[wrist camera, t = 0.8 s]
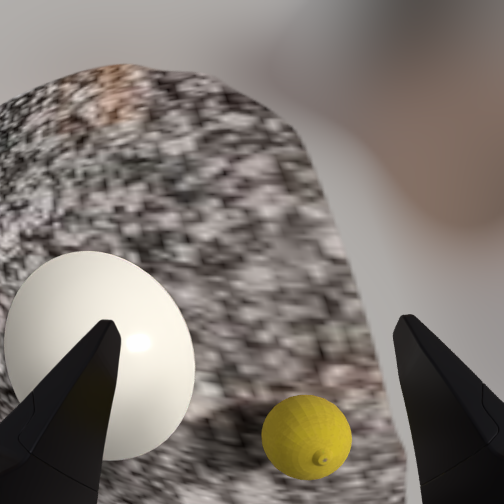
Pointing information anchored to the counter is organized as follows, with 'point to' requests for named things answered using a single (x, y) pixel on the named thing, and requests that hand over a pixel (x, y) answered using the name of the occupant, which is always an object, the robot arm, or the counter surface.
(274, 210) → the counter surface
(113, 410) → the plate
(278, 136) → the counter surface
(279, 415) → the lemon
